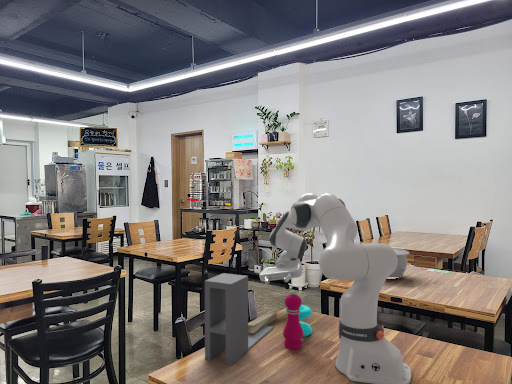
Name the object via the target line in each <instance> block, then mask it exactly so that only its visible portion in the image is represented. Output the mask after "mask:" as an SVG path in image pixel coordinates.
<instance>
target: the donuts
mask: <svg viewBox="0 0 512 384" xmlns="http://www.w3.org/2000/svg"><path fill="white" fill-rule="evenodd" d="M299 308H300V313H299V322H300V325H301V327H302V330H303V338H304V337H309V335H311V334H312V330H313V329H312V327H311V325H310V324H309V323H307V322H305V321H300V320H306V319H308V318H310V317H311V315H312V314H313V311H312V308H311V307H309V306H308V305H305V304H301V306H300V307H299ZM285 312H286V311H285ZM286 315H287V316H288V314H287V312H286Z"/></svg>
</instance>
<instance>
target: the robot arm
mask: <svg viewBox="0 0 512 384" xmlns="http://www.w3.org/2000/svg"><path fill="white" fill-rule="evenodd" d="M318 227H319V228H321V229H322V233H323V234H324V236H325V239H326V247H324V248H323V249H322V251H321V253H320V255H319V259H318V264H319V265H318V266H319V269H320V271H321V273H322V274H323V276H325V278H327V279H328V280H334V281H352V280H353V283H352V285H351V286H350V287H349V288H348V289H346V290H345V291H344V292H343V293H342V295H341V297H340V320H338V321H339V322H338V338H339V343H338V344H339V345H338V353H337V357H336V360H335V367H336V369H337V370H338V371H339V372H340V373H342V374H344V375H345V376H346V377H347V378H348V379H349V381H351V382H359V383H365V384H410V383H411V381H412V376H413V375H412V370H411V367H410V366H409V365H408V364H407V363H405V362H404V359H403V355H402V352H401V351H400V349H399V348H398V347H396V346H395V345H394V344H393V343H392V342H390V341H389V340H388V339H387V338H386V337H385V330H384V329H385V328H384V324H382V325H381V324H380V323H378V303H379V302H378V301H379V296H380V293H381V290H382V288H383V286H384V284H385V282H386V281H387V280H386V279H387V278H388V277H389V276H390V275H391V274H392V273H393V272H394V271H395V270H396V267H397V255H396V253H395V251H394V250H393V248H394V247H391V246H390V245H389V244H384V243H377V242H367V243H365V242H364V243H356V242H354V240H355V239H356V238H357V236H358V232H359V231H358V225H357V223H356V221H355V220H354V218H353V217H352V215H351V213H350V212H349V210H348V209H347V207H346V203H345V202H344V200H342V199H341V198H338V197H337V196H336V195H334V194H333V193H329V192H328V193H323V194H320V195H316V194H314V193H311V192H308V193H304V194H301V196H300V197H299V198H298V199H297V201H296V202H295V203H293V205H292V206H291V207H290V210H288V211H286V212H285V213H284V214H283V216H282V217H281V218H280V219H279V222H278V223H277V224H276V226H275V227H274V228H273V229H272V231H271V232H270V235H269V240H268V241H269V242H270V244H271V246H272V247H273V246H274V247H276V248H278V249H281V250H283V251H282V252H281V254H280V256H279V257H278V259H277V260H276V262H275V263H274V266H268V267H265V268H264V269H262V270H261V272H260V273H259V279H260V281H261V282H264V283H265V285H269V284H270V281H278V280H283V281H284V283H288V282H289V281H290V280H292V279H295V278H296V279H297V278H300V277H301V276H302V274H303V270H304V269H303V265H302V262H301V259H302V258H303V256H304V254H305V252H306V251H307V250H306V249H307V246H308V243H307V240H306V238H304V237H303V236H301V235H298V234H296V233H294V232H292V231H290V230H288V229H287V228H289V229H292V230H296V231H300V232H307V231H310V230H311V229H313V228H318Z"/></svg>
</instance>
